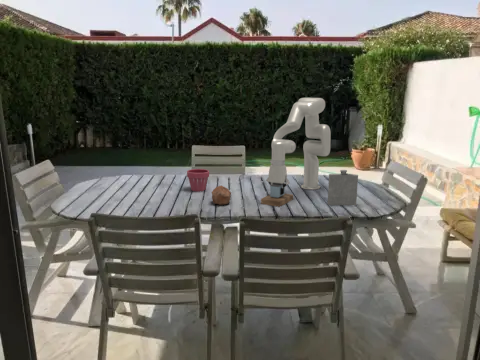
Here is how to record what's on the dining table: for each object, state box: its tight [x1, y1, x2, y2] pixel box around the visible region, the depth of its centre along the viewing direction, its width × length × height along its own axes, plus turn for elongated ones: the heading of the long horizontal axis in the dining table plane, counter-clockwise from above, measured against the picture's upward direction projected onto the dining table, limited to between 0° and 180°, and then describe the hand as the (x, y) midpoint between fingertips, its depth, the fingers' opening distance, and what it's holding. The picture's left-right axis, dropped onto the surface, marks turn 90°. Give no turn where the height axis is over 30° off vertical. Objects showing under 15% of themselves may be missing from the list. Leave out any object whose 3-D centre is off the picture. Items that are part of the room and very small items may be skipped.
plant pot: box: [186, 168, 210, 192], centre depth 262 cm, size 14×14×13 cm
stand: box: [260, 192, 294, 208], centre depth 237 cm, size 18×12×3 cm, turn 149°
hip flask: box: [327, 169, 359, 206], centre depth 229 cm, size 16×4×20 cm, turn 83°
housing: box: [269, 182, 286, 198], centre depth 235 cm, size 5×9×7 cm, turn 149°
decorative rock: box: [211, 185, 232, 206], centre depth 232 cm, size 13×11×10 cm
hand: (277, 193), depth 236 cm, fingers closed on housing, 4 cm apart
